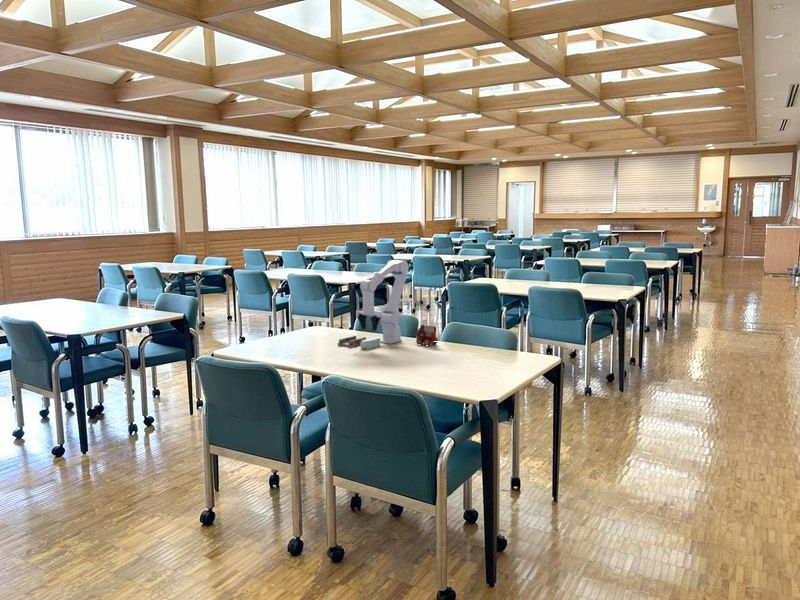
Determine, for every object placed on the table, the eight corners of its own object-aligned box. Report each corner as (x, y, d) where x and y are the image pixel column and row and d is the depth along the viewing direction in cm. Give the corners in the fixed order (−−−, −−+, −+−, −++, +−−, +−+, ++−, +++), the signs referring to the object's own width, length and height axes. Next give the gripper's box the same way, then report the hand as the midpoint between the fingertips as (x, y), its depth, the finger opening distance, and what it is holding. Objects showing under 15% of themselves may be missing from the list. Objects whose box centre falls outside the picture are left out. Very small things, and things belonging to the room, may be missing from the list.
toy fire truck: (421, 342, 313) (421, 322, 311) (440, 345, 305) (440, 325, 303) (413, 344, 308) (412, 324, 306) (431, 347, 299) (431, 327, 298)
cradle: (353, 341, 317) (353, 335, 317) (367, 343, 311) (367, 337, 311) (337, 345, 308) (337, 339, 308) (351, 347, 302) (351, 341, 301)
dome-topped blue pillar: (374, 344, 308) (374, 337, 307) (380, 345, 305) (380, 338, 305) (358, 349, 299) (358, 341, 298) (364, 350, 296) (364, 342, 296)
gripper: (352, 303, 300) (353, 329, 302) (373, 305, 291) (374, 332, 293) (362, 301, 306) (362, 327, 308) (383, 303, 297) (383, 330, 298)
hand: (369, 329), depth 301 cm, fingers open, 7 cm apart
